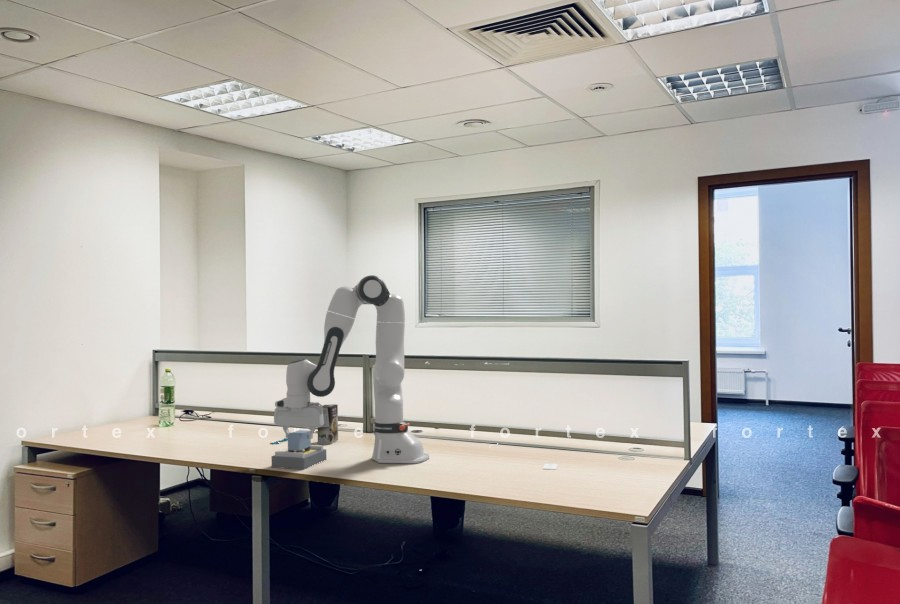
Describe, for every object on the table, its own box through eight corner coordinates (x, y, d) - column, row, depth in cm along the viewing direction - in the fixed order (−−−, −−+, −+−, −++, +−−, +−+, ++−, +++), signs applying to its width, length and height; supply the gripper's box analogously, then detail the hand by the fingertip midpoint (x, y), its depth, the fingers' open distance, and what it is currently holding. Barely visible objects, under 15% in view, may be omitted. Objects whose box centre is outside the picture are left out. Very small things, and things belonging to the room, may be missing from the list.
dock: (326, 459, 259) (326, 445, 259) (304, 469, 244) (303, 454, 244) (295, 457, 264) (295, 443, 264) (271, 467, 249) (271, 452, 249)
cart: (310, 450, 257) (310, 430, 257) (299, 454, 249) (299, 434, 250) (299, 449, 259) (299, 430, 259) (287, 453, 251) (287, 434, 251)
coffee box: (331, 444, 289) (330, 407, 289) (317, 444, 290) (316, 407, 291) (338, 440, 298) (338, 404, 298) (325, 440, 299) (324, 404, 299)
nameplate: (267, 444, 293) (276, 445, 291) (267, 443, 293) (276, 443, 291) (318, 430, 326) (326, 430, 324) (318, 428, 326) (326, 429, 324)
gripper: (326, 401, 254) (327, 437, 254) (280, 400, 261) (281, 435, 261) (318, 403, 248) (318, 441, 248) (271, 402, 255) (271, 438, 255)
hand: (299, 438), depth 254 cm, fingers open, 8 cm apart
